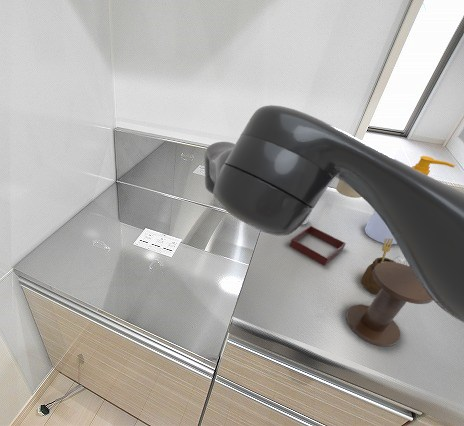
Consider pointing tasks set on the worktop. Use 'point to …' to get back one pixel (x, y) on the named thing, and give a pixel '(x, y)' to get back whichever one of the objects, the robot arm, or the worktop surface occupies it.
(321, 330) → the worktop surface
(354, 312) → the candle stand
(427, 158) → the soap bottle
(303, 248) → the dark red square frame
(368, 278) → the utensil holder
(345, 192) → the candle
